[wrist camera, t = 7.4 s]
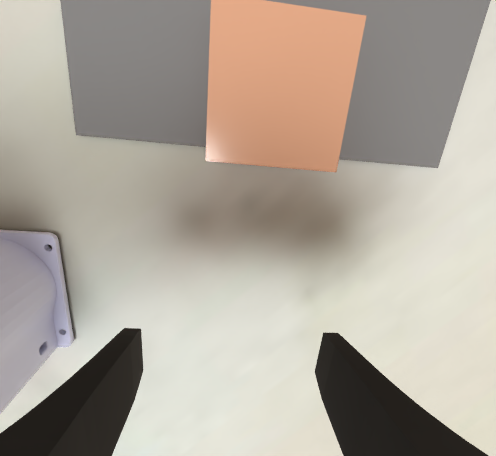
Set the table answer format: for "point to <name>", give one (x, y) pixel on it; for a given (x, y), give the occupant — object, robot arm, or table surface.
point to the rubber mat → (197, 66)
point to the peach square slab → (279, 83)
